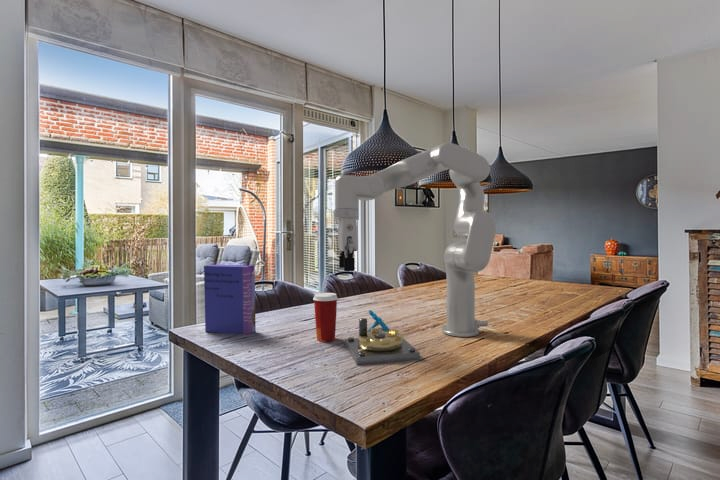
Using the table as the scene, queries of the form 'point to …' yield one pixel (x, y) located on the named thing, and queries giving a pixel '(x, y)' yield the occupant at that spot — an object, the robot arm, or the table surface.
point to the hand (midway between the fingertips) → (346, 269)
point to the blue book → (230, 299)
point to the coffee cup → (325, 316)
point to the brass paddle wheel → (378, 338)
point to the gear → (377, 321)
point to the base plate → (380, 353)
